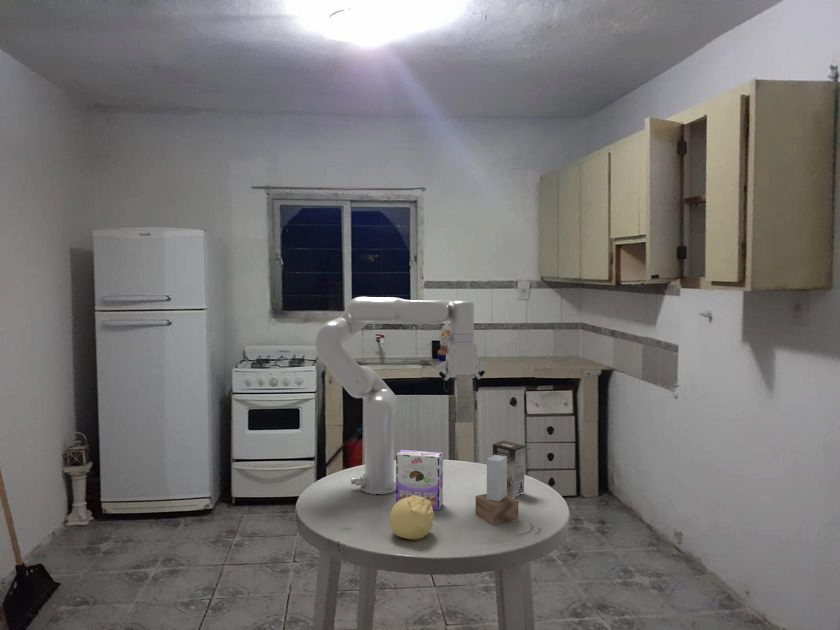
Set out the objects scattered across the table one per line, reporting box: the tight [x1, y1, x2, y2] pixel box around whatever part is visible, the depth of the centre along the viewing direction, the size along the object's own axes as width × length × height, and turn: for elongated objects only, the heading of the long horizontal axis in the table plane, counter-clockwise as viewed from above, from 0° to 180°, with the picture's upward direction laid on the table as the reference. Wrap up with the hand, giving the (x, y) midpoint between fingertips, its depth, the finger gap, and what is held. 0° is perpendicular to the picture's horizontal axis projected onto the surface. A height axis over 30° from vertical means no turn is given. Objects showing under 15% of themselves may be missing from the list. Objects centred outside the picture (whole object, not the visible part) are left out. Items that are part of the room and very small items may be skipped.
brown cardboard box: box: [474, 493, 520, 526], centre depth 191 cm, size 9×9×6 cm
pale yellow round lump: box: [389, 495, 435, 541], centre depth 177 cm, size 11×12×11 cm
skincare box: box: [486, 454, 507, 502], centre depth 191 cm, size 6×4×12 cm
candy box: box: [395, 449, 444, 511], centre depth 200 cm, size 14×6×16 cm, turn 74°
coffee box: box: [492, 440, 526, 498], centre depth 212 cm, size 9×6×16 cm
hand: (461, 391), depth 211 cm, fingers open, 9 cm apart
